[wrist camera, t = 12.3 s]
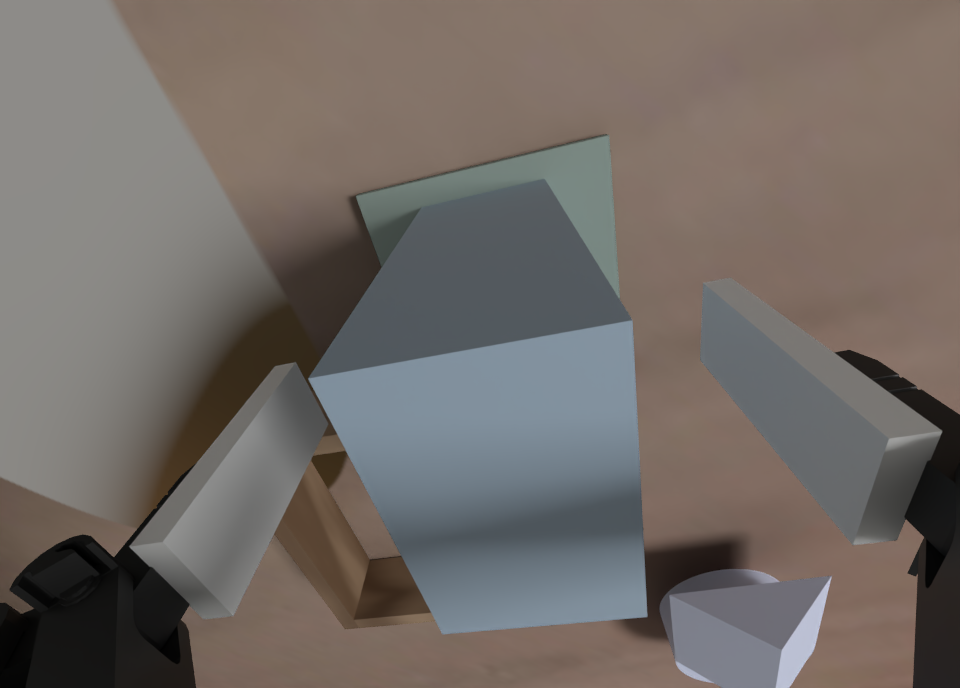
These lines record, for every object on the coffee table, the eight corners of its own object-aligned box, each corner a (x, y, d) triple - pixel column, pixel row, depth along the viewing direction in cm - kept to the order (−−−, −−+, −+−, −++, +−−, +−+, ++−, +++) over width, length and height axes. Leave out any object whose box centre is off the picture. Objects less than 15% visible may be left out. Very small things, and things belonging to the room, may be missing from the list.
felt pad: (427, 386, 22) (426, 392, 22) (359, 193, 17) (355, 196, 17) (621, 353, 21) (623, 359, 20) (605, 134, 16) (608, 135, 15)
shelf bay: (361, 569, 31) (345, 629, 27) (256, 400, 23) (214, 453, 20) (603, 543, 28) (618, 604, 25) (578, 344, 21) (595, 393, 17)
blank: (468, 368, 21) (442, 634, 11) (421, 207, 17) (307, 378, 7) (569, 350, 20) (647, 616, 10) (544, 178, 16) (632, 319, 6)
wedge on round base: (651, 544, 28) (662, 639, 35) (691, 658, 23) (696, 747, 29) (795, 524, 27) (780, 627, 33) (877, 641, 21) (840, 739, 27)
